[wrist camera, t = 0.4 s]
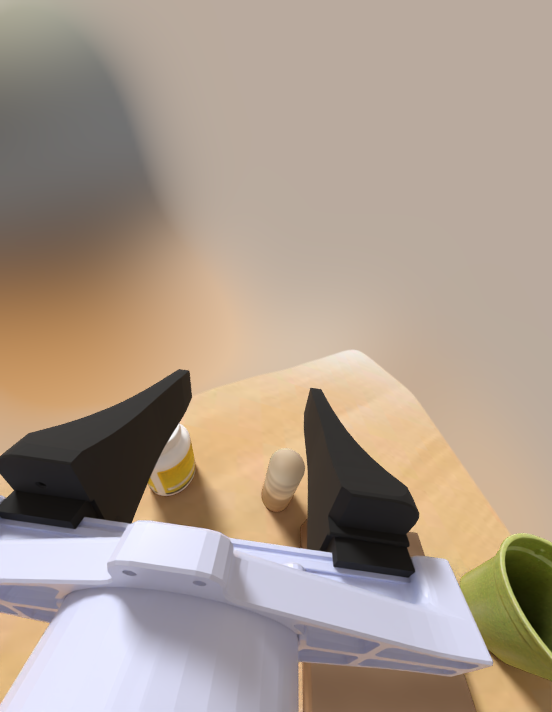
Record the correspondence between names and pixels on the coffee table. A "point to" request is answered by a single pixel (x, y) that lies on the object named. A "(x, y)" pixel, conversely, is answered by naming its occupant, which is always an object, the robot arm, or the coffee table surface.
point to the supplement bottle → (174, 465)
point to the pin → (282, 479)
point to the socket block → (381, 681)
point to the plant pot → (515, 603)
